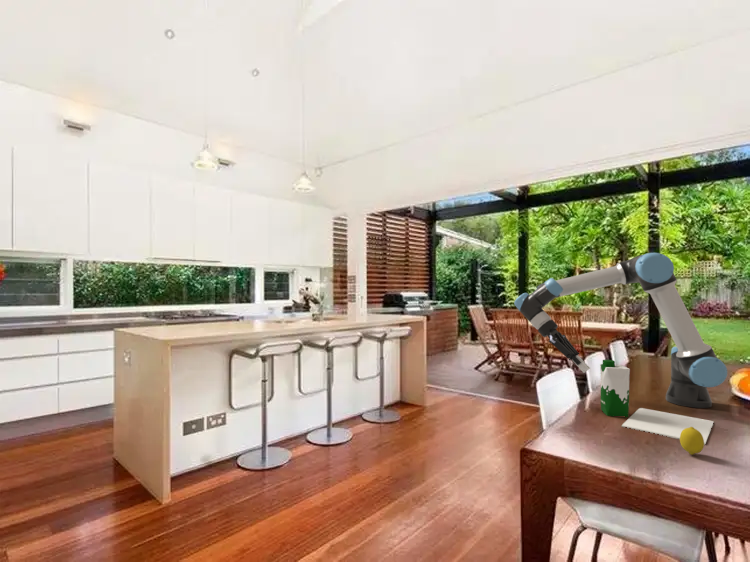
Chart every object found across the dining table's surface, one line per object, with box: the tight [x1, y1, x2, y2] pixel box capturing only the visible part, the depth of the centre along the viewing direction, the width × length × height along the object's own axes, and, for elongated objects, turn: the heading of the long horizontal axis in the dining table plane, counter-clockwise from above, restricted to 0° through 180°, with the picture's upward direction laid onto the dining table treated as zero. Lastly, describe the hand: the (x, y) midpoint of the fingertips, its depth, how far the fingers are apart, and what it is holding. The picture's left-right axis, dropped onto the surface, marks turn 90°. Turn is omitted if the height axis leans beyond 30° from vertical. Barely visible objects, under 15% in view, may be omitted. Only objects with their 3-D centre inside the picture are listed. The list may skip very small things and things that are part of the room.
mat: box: [621, 407, 715, 446], centre depth 145 cm, size 22×28×1 cm
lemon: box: [679, 427, 705, 456], centre depth 120 cm, size 6×6×8 cm
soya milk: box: [599, 359, 631, 418], centre depth 156 cm, size 9×9×20 cm
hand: (586, 370), depth 163 cm, fingers closed
